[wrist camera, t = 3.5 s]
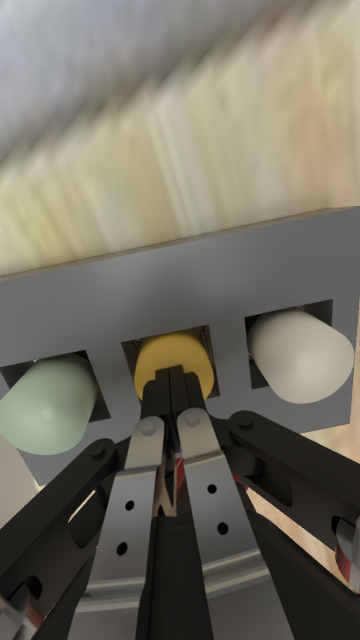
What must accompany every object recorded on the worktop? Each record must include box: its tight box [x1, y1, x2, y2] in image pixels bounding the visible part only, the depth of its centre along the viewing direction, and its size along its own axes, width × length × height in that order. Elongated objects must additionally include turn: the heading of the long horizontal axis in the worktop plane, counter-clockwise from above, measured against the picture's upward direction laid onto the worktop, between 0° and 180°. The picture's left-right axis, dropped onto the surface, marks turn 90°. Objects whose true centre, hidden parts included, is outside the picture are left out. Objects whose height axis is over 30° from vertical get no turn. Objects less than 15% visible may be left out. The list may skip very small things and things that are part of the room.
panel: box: [0, 206, 360, 486], centre depth 16 cm, size 22×14×3 cm, turn 101°
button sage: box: [0, 353, 100, 455], centre depth 14 cm, size 4×4×4 cm
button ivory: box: [247, 307, 354, 404], centre depth 14 cm, size 4×4×4 cm
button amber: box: [134, 328, 214, 400], centre depth 16 cm, size 4×4×4 cm
